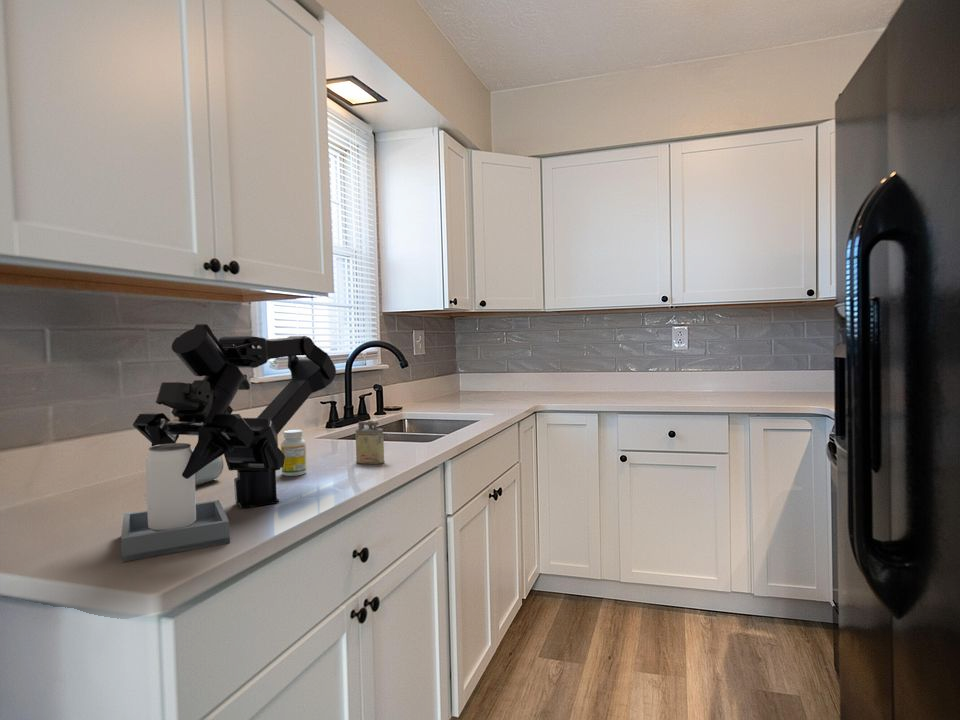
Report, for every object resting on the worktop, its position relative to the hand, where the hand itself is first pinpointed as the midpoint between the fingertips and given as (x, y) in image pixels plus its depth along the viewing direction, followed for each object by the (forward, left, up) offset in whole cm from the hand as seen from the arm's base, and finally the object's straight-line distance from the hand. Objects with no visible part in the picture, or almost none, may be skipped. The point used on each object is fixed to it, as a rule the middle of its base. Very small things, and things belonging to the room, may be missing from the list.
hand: (166, 476), depth 87 cm
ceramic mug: (-6, -39, -10) cm, 40 cm away
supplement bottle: (-26, -35, -10) cm, 45 cm away
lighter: (-44, -36, -10) cm, 58 cm away
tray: (-1, -1, -10) cm, 10 cm away
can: (0, -1, -8) cm, 8 cm away
